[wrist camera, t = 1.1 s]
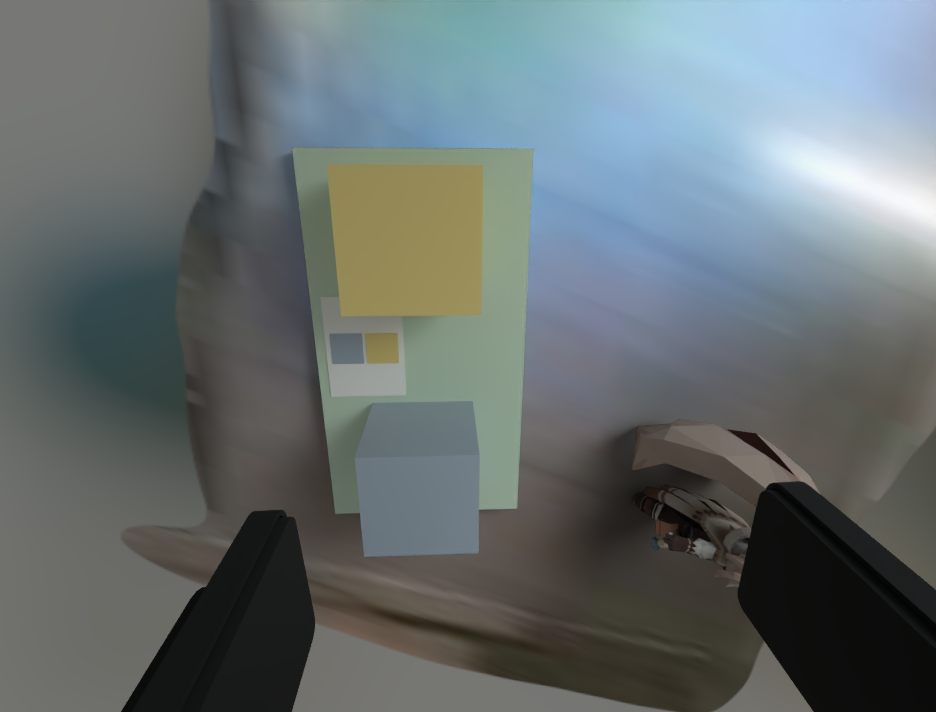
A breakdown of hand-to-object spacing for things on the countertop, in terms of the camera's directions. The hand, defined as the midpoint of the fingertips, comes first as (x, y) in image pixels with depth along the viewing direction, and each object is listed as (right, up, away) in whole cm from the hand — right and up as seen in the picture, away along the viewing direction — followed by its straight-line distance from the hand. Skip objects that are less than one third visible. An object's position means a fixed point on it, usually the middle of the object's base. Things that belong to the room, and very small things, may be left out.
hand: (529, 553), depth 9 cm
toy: (+13, -3, +22) cm, 26 cm away
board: (-4, +5, +19) cm, 20 cm away
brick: (-4, +11, +15) cm, 19 cm away
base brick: (-4, -2, +20) cm, 20 cm away
